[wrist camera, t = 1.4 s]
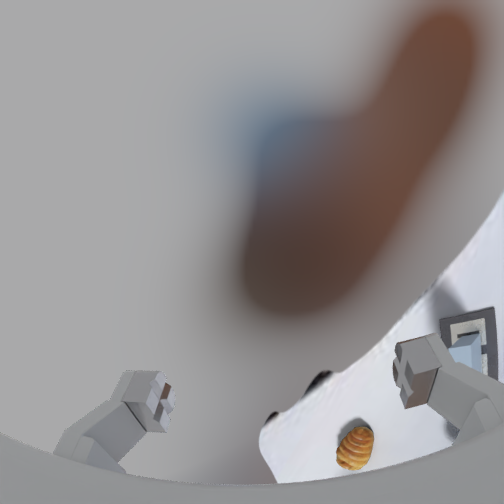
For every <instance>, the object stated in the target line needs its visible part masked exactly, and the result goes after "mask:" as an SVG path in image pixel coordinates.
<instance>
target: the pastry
mask: <svg viewBox="0 0 504 504" xmlns="http://www.w3.org/2000/svg"><path fill="white" fill-rule="evenodd" d="M373 442H374V436H373V432H372V431H371V430H370V429H369V428H367V427H355V428H354V429H353V430H352V431H351V432H349V433H348V435H347V436H346V437H345V438H344V439H342V441H341V444H340V446H339V447H338V448H337V451H336V454H337V459H336V461H337V463H338V464H339V465H340V466H341V467H343V468H345V469H348V470H359V469H361V468H362V467H363V466H364V465H366V464H367V462H368V460H369V458H370V455H371V452H372V447H373Z"/></svg>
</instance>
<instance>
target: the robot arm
mask: <svg viewBox="0 0 504 504" xmlns="http://www.w3.org/2000/svg"><path fill="white" fill-rule="evenodd" d="M395 353H396V356H397V357H396V358H395V359H394V360H393V376H394V381H395V383H396V386H398V387H399V388H401V392H400V397H401V400H402V402H403V405H404V408H405V409H408V408H412V407H415V406H419V405H423V404H426V403H427V405H428V406H430V407H431V408H432V409H433V410H435V411H436V412H437V413H439V414H440V415H441V416H442V417H444V418H445V419H446V420H448V421H449V422H450V423H451V424H453V425H454V426H455V427H457V428H458V429H459V430H460V432H459V434H458V435H457V437H456V439H455V440H454V442H453V444H452V446H451V447H448V448H445V449H443V450H440V451H437V452H434V453H431V454H429V455H426V456H422V457H419V458H416V459H413V460H410V461H406V462H403V463H399V464H396V465H392V466H388V467H384V468H380V469H376V470H371V471H367V472H362V473H357V474H352V475H346V476H341V477H334V478H328V479H321V480H313V481H304V482H293V483H280V484H260V485H221V484H201V483H188V482H187V483H186V482H177V481H169V480H160V479H154V478H147V477H141V476H136V475H130V474H126V471H125V470H124V469H123V468H122V467H121V466H120V465H119V464H118V462H119V461H120V460H121V459H122V458H123V457H124V456H125V455H126V454H127V453H128V452H129V451H130V449H132V448H133V447H134V445H135V444H136V443H137V442H138V441H139V440H140V439H141V438H142V437H143V436H144V435H145V434H146V432H160V433H162V432H163V433H167V430H168V426H169V423H170V420H171V419H170V417H169V415H168V414H169V413H170V412H171V411H172V410H173V409H174V405H175V394H174V391H173V389H172V387H171V386H170V385H169V384H167V383H166V379H167V378H166V376H165V374H164V372H162V371H130V370H126V371H125V372H123V374H122V376H121V378H120V380H119V382H118V384H117V386H116V388H115V390H114V392H113V394H112V396H111V398H110V400H109V401H105V402H104V403H102V404H101V405H100V406H98V407H97V408H95V409H94V410H93V411H91V412H90V413H88V414H87V415H86V416H84V417H83V418H82V419H80V420H79V421H77V422H76V423H74V424H73V425H72V426H70V427H69V428H67V429H66V430H65V431H64V433H63V435H62V437H61V438H60V440H59V442H58V444H57V446H56V448H55V450H54V452H53V454H51V453H49V452H46V451H43V450H40V449H38V448H35V447H32V446H30V445H27V444H25V443H23V442H20V441H18V440H16V439H13V438H11V437H9V436H7V435H5V434H3V433H0V504H504V384H503V383H501V382H499V381H497V380H495V379H493V378H491V377H489V376H487V375H485V374H483V373H481V372H479V371H477V370H475V369H473V368H471V367H469V366H467V365H465V364H463V363H461V362H455V361H454V359H453V357H452V356H451V354H450V352H449V351H448V349H447V348H446V346H445V344H444V343H443V341H442V340H441V338H440V337H439V335H438V334H437V333H432V334H429V335H425V336H423V337H418V338H414V339H410V340H406V341H402V342H398V343H397V344H396V346H395Z"/></svg>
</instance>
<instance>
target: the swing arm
mask: <svg viewBox="0 0 504 504" xmlns="http://www.w3.org/2000/svg"><path fill="white" fill-rule="evenodd" d="M449 352H450V354H451V356H452V357H453V359H454V361H455V362H461V363H463V364H465V365H467V366H469V367H471V368H473V369H475V370H477V371H479V372H481V373H482V354H481V337H480V333H479V334H473V335H468V336H462V337H461V338H460V339H458V340H457V341H456V342H455V343H454V344H453V345H452V346H451V347H450V348H449Z"/></svg>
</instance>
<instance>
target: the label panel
mask: <svg viewBox="0 0 504 504" xmlns="http://www.w3.org/2000/svg"><path fill="white" fill-rule="evenodd" d="M440 329H441V339H442V341H443V343H444V344H445V346H446V348H447V349H448V351H449V348H450V347H451V346H452V345H453V344H454V343H455V342H456V341H457V340H458V339H460V338H461V337H462V336H468V335H473V334H479V333H480V337H481V354H482V373H483V374H485V375H487V376H489V377H491V378H493V379H495V380H497V381H498V347H497V330H496V319H495V309H494V308H493V309H488V310H484V311H480V312H475V313H470V314H466V315H461V316H456V317H451V318H445V319H440Z"/></svg>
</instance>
